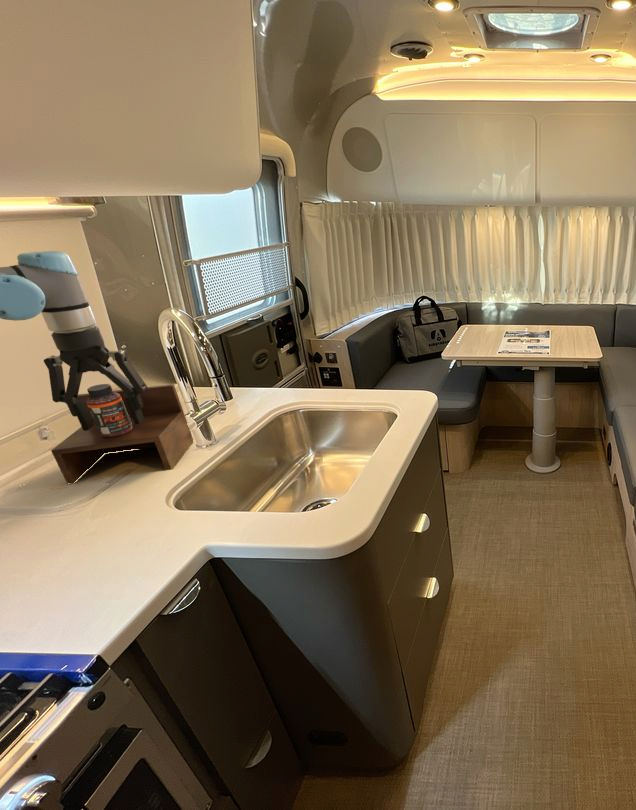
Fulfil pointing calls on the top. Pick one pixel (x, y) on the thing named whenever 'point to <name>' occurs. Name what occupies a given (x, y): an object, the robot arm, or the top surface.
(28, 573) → the top surface
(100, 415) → the supplement bottle
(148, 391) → the shelf
